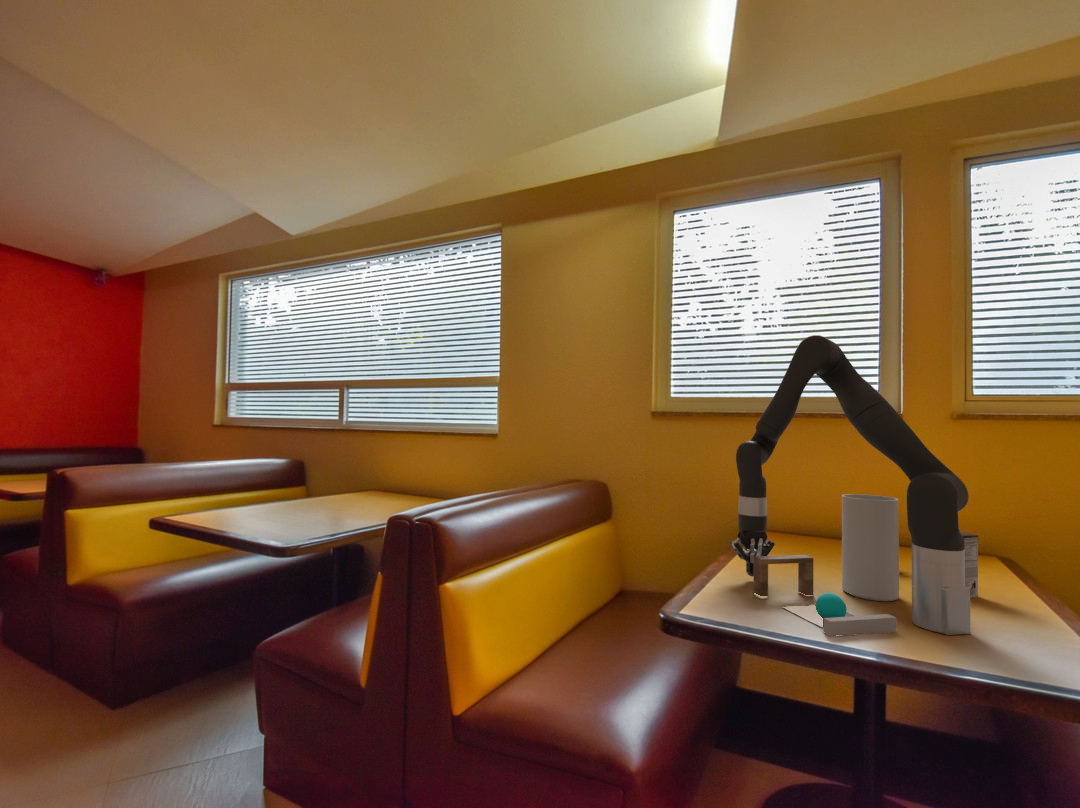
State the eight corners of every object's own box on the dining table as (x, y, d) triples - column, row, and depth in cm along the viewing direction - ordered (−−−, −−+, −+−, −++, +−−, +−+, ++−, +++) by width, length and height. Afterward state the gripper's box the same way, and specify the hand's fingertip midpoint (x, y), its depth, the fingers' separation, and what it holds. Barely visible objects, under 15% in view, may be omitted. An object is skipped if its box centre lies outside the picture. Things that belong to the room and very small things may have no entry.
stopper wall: (896, 631, 110) (896, 617, 110) (830, 636, 107) (830, 621, 107) (888, 628, 112) (887, 614, 112) (823, 632, 109) (823, 618, 109)
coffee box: (926, 588, 142) (925, 528, 143) (942, 586, 144) (941, 527, 145) (963, 599, 134) (962, 535, 134) (979, 597, 136) (978, 534, 137)
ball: (852, 596, 114) (832, 590, 119) (827, 595, 113) (808, 590, 118) (853, 625, 113) (834, 618, 118) (828, 625, 112) (809, 618, 117)
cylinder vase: (831, 590, 138) (831, 495, 140) (860, 584, 144) (860, 493, 145) (880, 605, 127) (880, 501, 129) (909, 598, 133) (908, 499, 134)
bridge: (813, 596, 133) (813, 557, 133) (760, 599, 130) (761, 559, 130) (805, 592, 136) (805, 554, 136) (753, 595, 133) (753, 556, 133)
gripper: (739, 515, 141) (738, 580, 140) (782, 514, 144) (782, 578, 143) (723, 510, 149) (723, 572, 148) (765, 510, 151) (764, 571, 151)
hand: (752, 575), depth 145 cm, fingers closed
